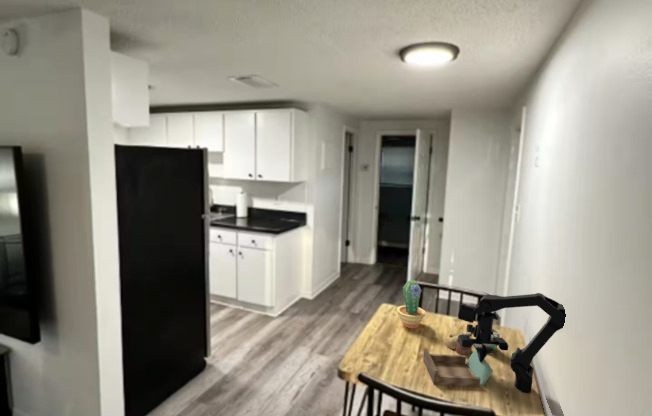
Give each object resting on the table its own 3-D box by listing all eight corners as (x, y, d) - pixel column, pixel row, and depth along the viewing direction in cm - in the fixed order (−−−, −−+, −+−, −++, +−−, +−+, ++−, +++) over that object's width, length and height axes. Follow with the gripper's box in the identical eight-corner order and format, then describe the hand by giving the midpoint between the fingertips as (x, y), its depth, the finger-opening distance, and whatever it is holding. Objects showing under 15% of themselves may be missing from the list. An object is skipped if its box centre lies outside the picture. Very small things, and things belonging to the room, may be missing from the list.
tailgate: (480, 384, 142) (491, 369, 141) (466, 362, 158) (475, 348, 157) (482, 385, 142) (493, 370, 141) (468, 363, 158) (477, 349, 157)
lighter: (458, 357, 165) (460, 336, 164) (453, 353, 169) (455, 333, 167) (473, 355, 167) (475, 334, 166) (468, 351, 171) (470, 331, 169)
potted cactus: (393, 327, 193) (395, 282, 190) (399, 316, 207) (401, 274, 204) (422, 333, 187) (425, 287, 184) (426, 322, 201) (429, 278, 198)
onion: (454, 343, 178) (456, 329, 177) (466, 351, 171) (467, 337, 170) (441, 345, 175) (442, 331, 174) (452, 354, 168) (453, 339, 167)
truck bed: (433, 387, 142) (434, 370, 141) (423, 363, 159) (424, 348, 158) (479, 389, 142) (481, 372, 141) (464, 365, 159) (465, 350, 158)
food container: (501, 360, 164) (503, 339, 163) (487, 358, 165) (489, 337, 164) (494, 346, 176) (496, 327, 175) (481, 345, 177) (483, 325, 176)
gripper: (498, 319, 155) (494, 353, 157) (455, 316, 156) (451, 349, 158) (511, 331, 144) (506, 367, 146) (464, 327, 144) (460, 364, 146)
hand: (480, 361), depth 149 cm, fingers closed, pressing on tailgate
